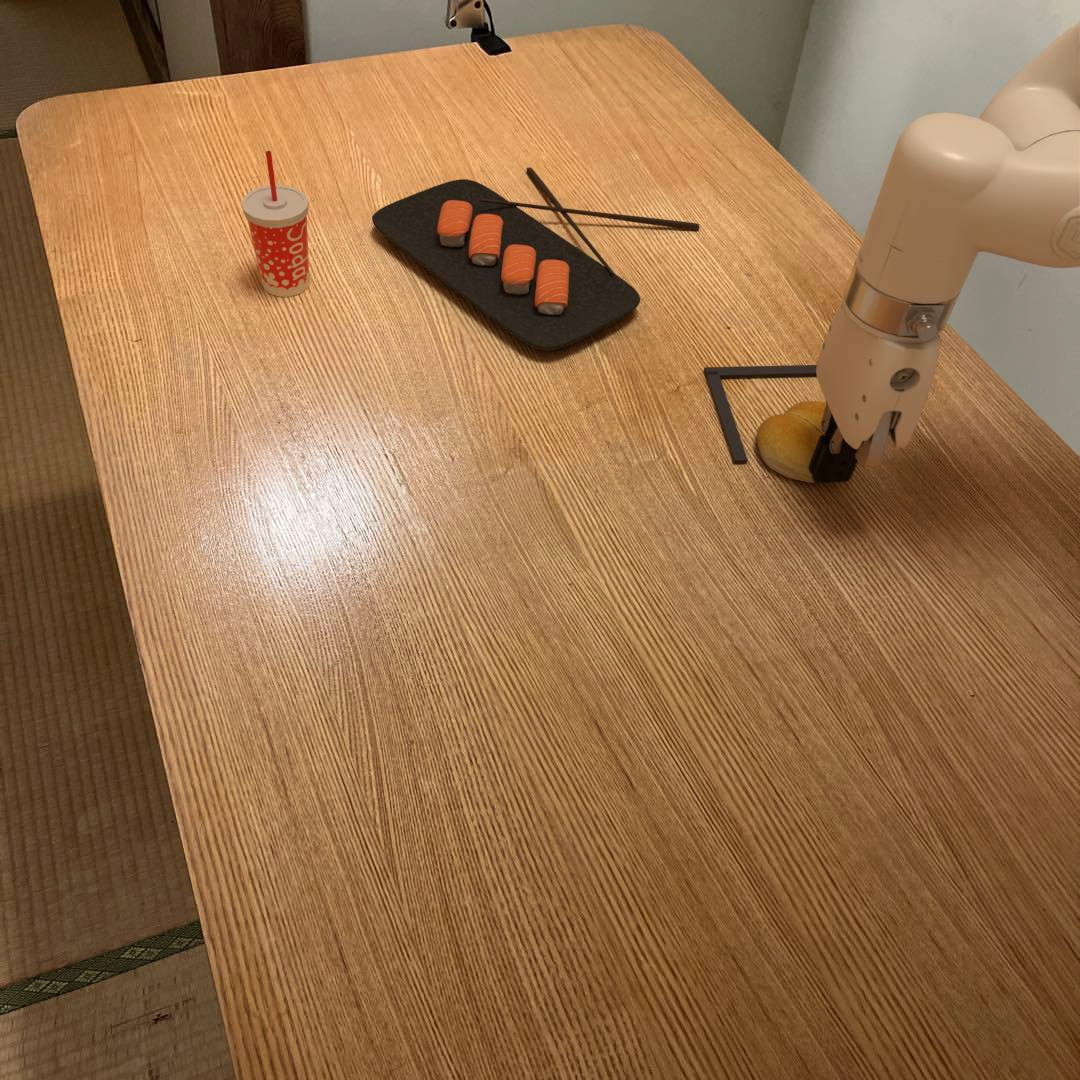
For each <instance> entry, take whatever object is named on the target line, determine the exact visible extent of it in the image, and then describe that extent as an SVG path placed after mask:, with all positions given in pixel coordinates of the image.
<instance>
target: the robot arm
mask: <svg viewBox="0 0 1080 1080" xmlns="http://www.w3.org/2000/svg"><path fill="white" fill-rule="evenodd" d="M885 172H886V173H885V175H884V178H883V180H882V184H881V186H880V190H879V193H878V194H877V195H878V196H877V198H876V201H875V204H874V206H873V210H872V212H871V215H870V217H869V218H870V219H869V222H868V224H867V227H866V230H865V233H864V236H863V238H862V241H861V244H860V247H859V250H858V253H857V255H856V258H855V260H854V263H853V266H852V269H851V271H850V275H849V278H848V280H847V283H846V286H845V289H844V292H843V295H842V298H841V300H840V302H839V305H838V306H837V309H836V310H835V313H834V315H833V318H832V320H831V321H830V325H829V327H828V330H827V332H826V333H825V337H824V340H823V343H822V344H821V348H820V352H819V354H818V358H817V361H816V365H817V367H816V374H817V377H816V378H817V382H818V386H819V387H820V390H821V392H822V394H823V397H824V399H825V403H826V407H825V411H824V414H823V418H822V421H821V431H822V433H823V434H825V435H820V437H819V440H818V443H817V445H816V448H815V451H814V453H813V456H812V459H811V461H810V464H809V467H808V469H809V471H810V473H811V474H813V475H812V479H813V481H814V483H813V484H833V483H837V484H838V483H847V482H849V481H850V480H851V478H852V476H853V473H854V471H855V469H856V466H857V464H858V463H859V464H860V466H861V467H862V468H864V469H865V468H879V467H881V464H882V461H883V456H884V452H885V450H886V446H887V445H886V444H887V441H888V439H889V438H888V437H890V439H891V442H892V443H893V445H894V448H895V449H904V448H906V447H907V446H908V444H910V441H911V439H912V437H913V435H914V432H915V431H916V428H917V427H918V424H919V421H920V418H921V415H922V413H923V410H924V407H925V405H926V402H927V399H928V397H929V394H930V391H931V388H932V385H933V382H934V378H935V374H936V371H937V367H938V363H939V359H940V354H941V349H942V345H943V344H942V342H943V341H942V338H941V334H942V333H943V332H944V330H945V328H946V326H947V324H948V322H949V319H950V317H951V314H952V313H953V310H954V308H955V307H956V304H957V301H958V299H959V297H960V294H961V292H962V290H963V288H964V285H965V283H966V281H967V279H968V276H969V274H970V272H971V269H972V268H973V265H974V264H975V261H976V258H977V256H978V255H979V253H981V252H983V253H988V254H993V255H996V256H1000V257H1005V258H1008V259H1012V260H1015V261H1019V262H1023V263H1026V264H1031V265H1035V266H1039V267H1044V268H1045V267H1046V268H1053V269H1075V268H1080V21H1078V22H1077V23H1075V24H1074V25H1071V27H1070V28H1068V29H1067V30H1066V31H1065V32H1063V33H1062V34H1061V35H1059V36H1058V37H1057V38H1056V39H1055V40H1054V41H1052V42H1051V43H1050V44H1049V45H1048V46H1047V47H1046V48H1044V49H1043V50H1042V51H1041V52H1040V53H1038V55H1037V56H1036V57H1035V58H1034V59H1032V60H1031V61H1030V62H1028V64H1026V66H1025V67H1024V68H1022V69H1021V70H1020V71H1019V72H1017V74H1016V75H1015V76H1014V77H1013V78H1012V79H1010V81H1008V83H1007V84H1005V86H1003V87H1002V88H1001V90H999V92H998V93H996V95H995V96H994V97H993V99H991V100H990V102H989V103H988V104H987V105H986V107H985V108H984V110H983V111H982V112H981V114H980V116H979V117H978V118H977V117H975V116H970V115H967V114H962V113H957V112H956V113H955V112H934V113H929V114H926V115H923V116H920V117H918V118H916V119H914V120H912V122H910V123H909V124H908V125H907V126H906V127H904V129H903V131H902V132H901V133H900V134H899V137H898V139H897V142H896V144H895V147H894V149H893V152H892V155H891V158H890V160H889V163H888V167H887V169H886V171H885Z"/></svg>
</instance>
